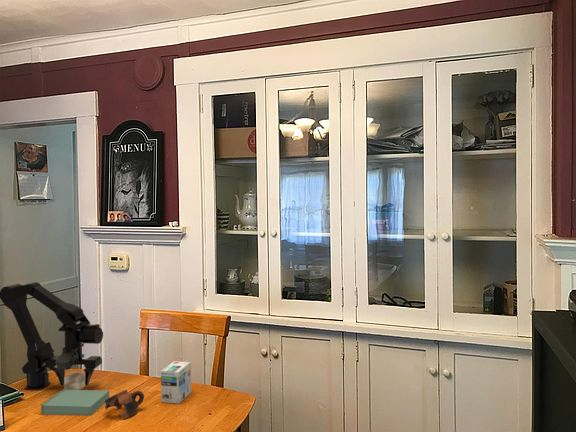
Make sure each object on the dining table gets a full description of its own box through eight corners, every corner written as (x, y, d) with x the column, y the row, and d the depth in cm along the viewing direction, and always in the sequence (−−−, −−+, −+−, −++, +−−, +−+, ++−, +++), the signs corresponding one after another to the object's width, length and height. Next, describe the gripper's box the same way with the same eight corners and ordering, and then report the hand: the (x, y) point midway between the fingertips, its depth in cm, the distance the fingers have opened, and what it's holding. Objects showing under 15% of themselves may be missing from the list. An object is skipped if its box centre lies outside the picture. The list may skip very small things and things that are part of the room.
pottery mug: (114, 425, 150) (103, 399, 152) (110, 427, 157) (100, 403, 159) (151, 405, 156) (140, 381, 158) (145, 408, 164) (135, 385, 166)
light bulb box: (179, 404, 163) (178, 372, 163) (160, 402, 165) (159, 371, 164) (192, 391, 174) (191, 361, 173) (174, 390, 175) (173, 360, 175)
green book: (41, 415, 157) (41, 405, 157) (63, 398, 170) (63, 389, 170) (90, 416, 156) (90, 406, 156) (109, 399, 169) (109, 390, 169)
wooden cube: (64, 391, 177) (64, 377, 176) (72, 385, 182) (71, 372, 181) (78, 391, 176) (77, 377, 176) (84, 386, 181) (84, 372, 181)
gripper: (35, 349, 171) (37, 393, 172) (86, 349, 169) (88, 394, 170) (53, 340, 182) (55, 381, 183) (102, 340, 180) (103, 382, 181)
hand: (74, 385), depth 179 cm, fingers open, 9 cm apart
